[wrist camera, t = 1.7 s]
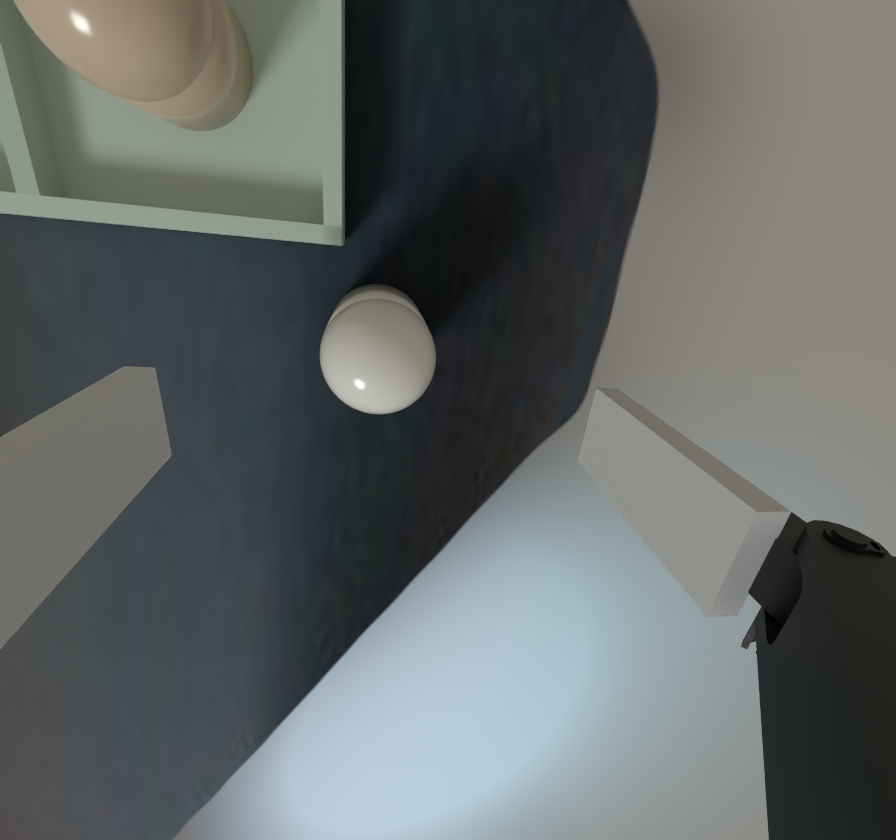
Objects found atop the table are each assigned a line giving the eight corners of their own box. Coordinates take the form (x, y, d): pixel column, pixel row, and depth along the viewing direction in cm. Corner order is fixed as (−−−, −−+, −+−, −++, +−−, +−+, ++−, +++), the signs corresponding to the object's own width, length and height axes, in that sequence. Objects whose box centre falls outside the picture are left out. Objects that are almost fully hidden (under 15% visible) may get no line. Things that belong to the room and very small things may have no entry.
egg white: (330, 374, 25) (314, 432, 18) (329, 279, 22) (310, 304, 16) (420, 377, 26) (438, 434, 19) (427, 287, 23) (449, 314, 17)
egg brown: (125, 121, 18) (-28, 59, 11) (95, -47, 16) (-115, -251, 9) (257, 139, 19) (192, 92, 12) (246, -17, 17) (160, -182, 10)
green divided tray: (-274, 183, 17) (-365, 178, 15) (-546, -345, 12) (-747, -469, 10) (345, 243, 22) (341, 245, 20) (345, -122, 17) (340, -173, 14)
